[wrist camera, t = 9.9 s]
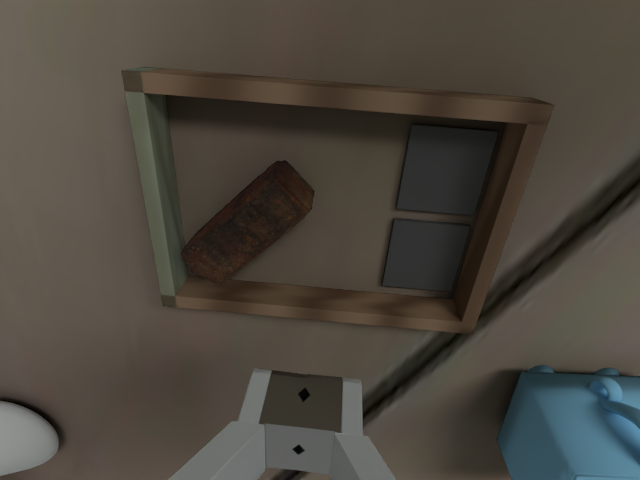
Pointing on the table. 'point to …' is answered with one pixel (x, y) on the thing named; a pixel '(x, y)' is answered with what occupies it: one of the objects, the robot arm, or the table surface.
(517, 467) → the teapot
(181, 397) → the table surface
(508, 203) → the box
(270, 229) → the brick
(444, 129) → the trap pits
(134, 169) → the table surface
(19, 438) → the flower in vase
